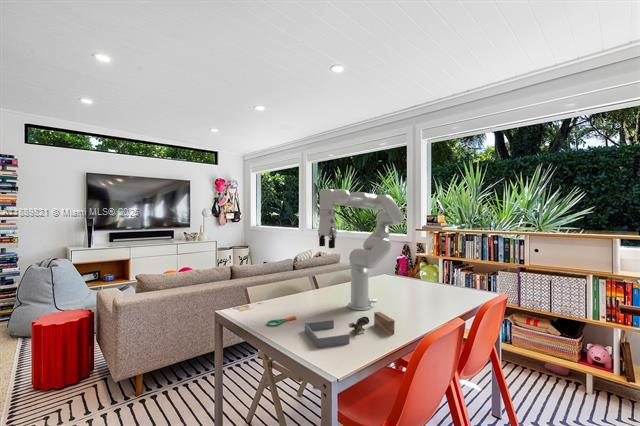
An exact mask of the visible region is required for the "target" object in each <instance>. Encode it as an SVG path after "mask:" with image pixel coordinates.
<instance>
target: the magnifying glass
mask: <svg viewBox="0 0 640 426" xmlns="http://www.w3.org/2000/svg"><path fill="white" fill-rule="evenodd" d="M294 320H297V316H295V315H293V316H289V317H286V318H282V319H281V318H280V319H270V320H268V321H267V322H266V326H267V327H272V328H275V327H278V326H279V327H280V326H281V325H283V324H284V323H287V322H291V321H294ZM271 323H275V324H271Z"/></svg>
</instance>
